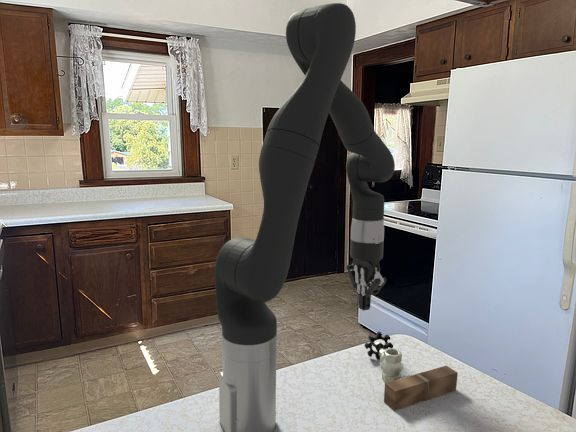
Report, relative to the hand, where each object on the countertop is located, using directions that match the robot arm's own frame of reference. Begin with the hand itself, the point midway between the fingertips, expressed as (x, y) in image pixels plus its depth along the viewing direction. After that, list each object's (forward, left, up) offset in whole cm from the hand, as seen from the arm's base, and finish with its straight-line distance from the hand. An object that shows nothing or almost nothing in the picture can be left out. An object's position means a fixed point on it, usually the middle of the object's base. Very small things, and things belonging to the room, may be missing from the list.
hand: (364, 308), depth 99 cm
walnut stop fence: (0, -20, -11) cm, 23 cm away
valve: (-1, -9, -11) cm, 15 cm away
